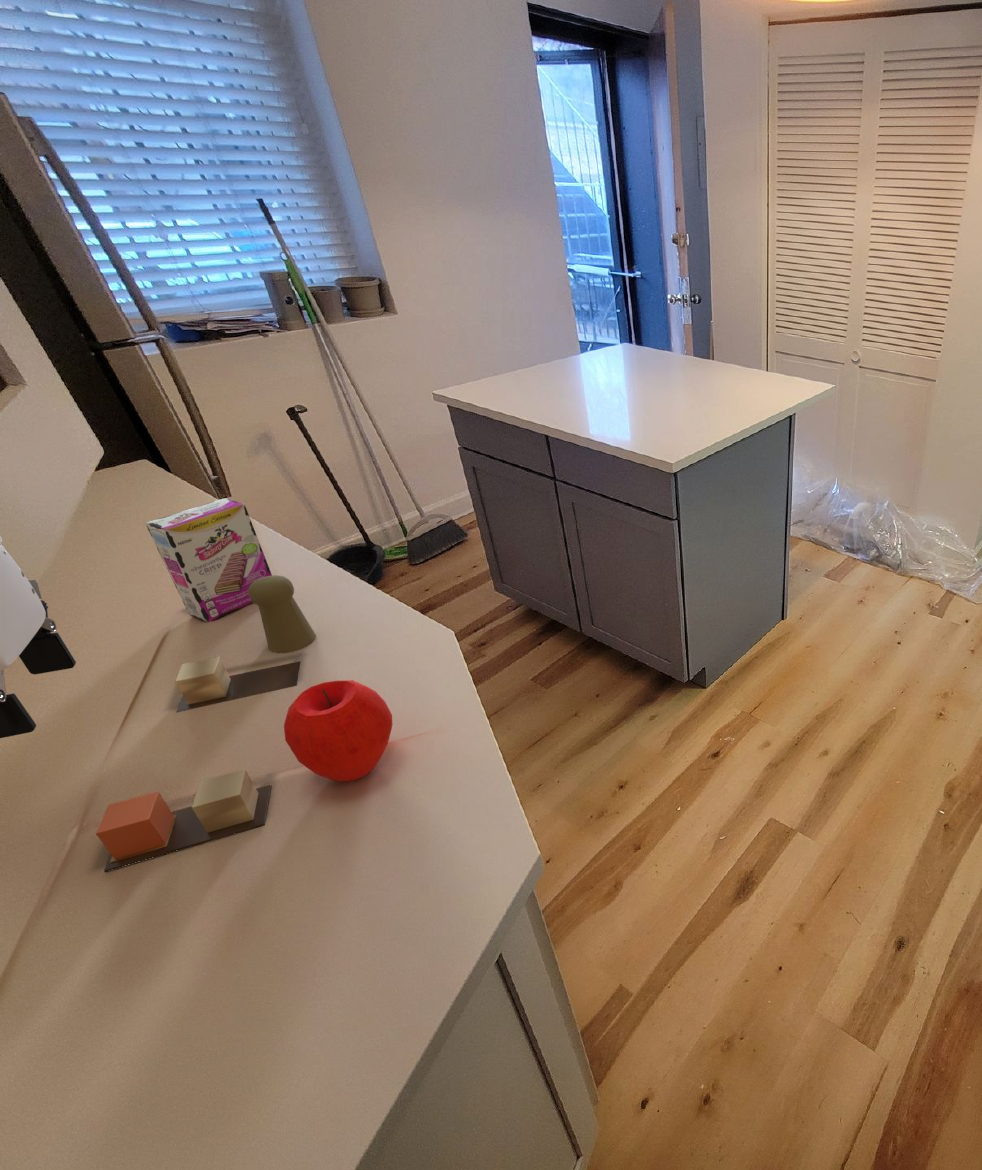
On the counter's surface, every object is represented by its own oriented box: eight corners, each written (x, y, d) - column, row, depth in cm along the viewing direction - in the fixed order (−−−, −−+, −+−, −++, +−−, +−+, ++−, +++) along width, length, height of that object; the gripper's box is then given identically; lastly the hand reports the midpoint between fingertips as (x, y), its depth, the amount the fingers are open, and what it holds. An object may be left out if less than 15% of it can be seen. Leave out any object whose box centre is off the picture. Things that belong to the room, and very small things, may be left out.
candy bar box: (210, 624, 99) (163, 529, 91) (188, 616, 101) (141, 522, 92) (281, 591, 108) (245, 502, 100) (261, 584, 110) (224, 496, 101)
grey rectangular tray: (177, 713, 83) (162, 688, 80) (187, 686, 87) (173, 661, 85) (297, 686, 88) (287, 662, 86) (301, 662, 93) (291, 638, 91)
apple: (414, 735, 82) (389, 659, 75) (387, 796, 73) (357, 716, 67) (328, 742, 80) (296, 665, 74) (291, 805, 72) (250, 724, 65)
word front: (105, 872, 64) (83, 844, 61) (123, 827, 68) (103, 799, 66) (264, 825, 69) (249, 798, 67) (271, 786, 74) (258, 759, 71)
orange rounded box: (114, 859, 64) (95, 833, 62) (126, 829, 67) (108, 804, 65) (165, 844, 66) (148, 819, 64) (175, 816, 69) (158, 790, 67)
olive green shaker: (258, 648, 95) (230, 585, 89) (297, 627, 100) (273, 566, 94) (287, 658, 93) (260, 595, 88) (326, 637, 98) (302, 575, 93)
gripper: (-86, 501, 56) (18, 657, 65) (-227, 600, 43) (-73, 777, 52) (33, 492, 59) (116, 641, 68) (-65, 580, 46) (53, 750, 55)
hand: (34, 700), depth 60 cm, fingers open, 9 cm apart
